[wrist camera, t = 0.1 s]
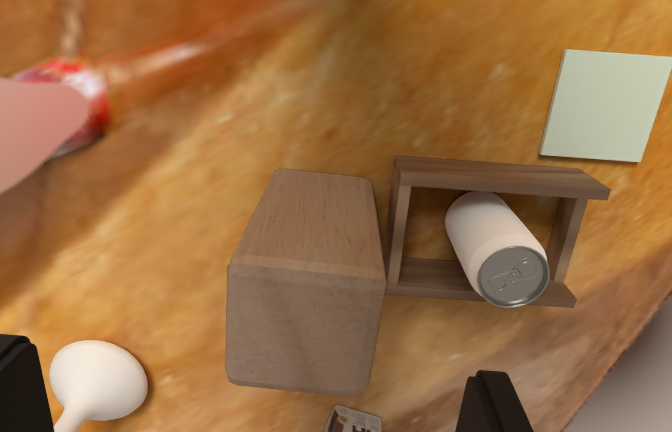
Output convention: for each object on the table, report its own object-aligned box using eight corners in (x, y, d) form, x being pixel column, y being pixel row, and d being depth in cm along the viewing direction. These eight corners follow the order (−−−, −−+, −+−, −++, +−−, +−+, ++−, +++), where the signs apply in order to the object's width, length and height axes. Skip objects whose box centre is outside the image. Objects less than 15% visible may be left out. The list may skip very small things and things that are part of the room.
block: (374, 175, 47) (390, 278, 28) (361, 263, 50) (368, 405, 32) (273, 164, 46) (223, 260, 28) (268, 254, 50) (221, 390, 32)
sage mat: (563, 49, 42) (566, 49, 41) (670, 56, 42) (675, 57, 41) (538, 153, 45) (541, 154, 45) (636, 160, 45) (640, 162, 45)
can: (518, 227, 48) (568, 289, 37) (461, 257, 50) (493, 325, 39) (490, 177, 46) (535, 226, 35) (432, 209, 48) (457, 266, 37)
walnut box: (394, 155, 46) (401, 174, 40) (579, 168, 46) (610, 189, 40) (381, 264, 50) (385, 294, 45) (549, 276, 50) (573, 307, 45)
